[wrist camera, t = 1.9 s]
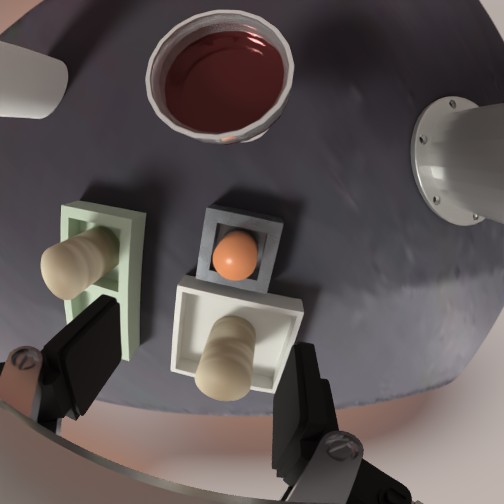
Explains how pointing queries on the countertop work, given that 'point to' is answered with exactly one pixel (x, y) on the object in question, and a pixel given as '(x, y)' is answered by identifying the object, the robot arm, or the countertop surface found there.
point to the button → (236, 255)
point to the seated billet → (80, 261)
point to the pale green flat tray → (119, 278)
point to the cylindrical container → (30, 82)
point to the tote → (234, 304)
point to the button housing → (254, 223)
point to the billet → (227, 359)
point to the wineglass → (221, 77)
